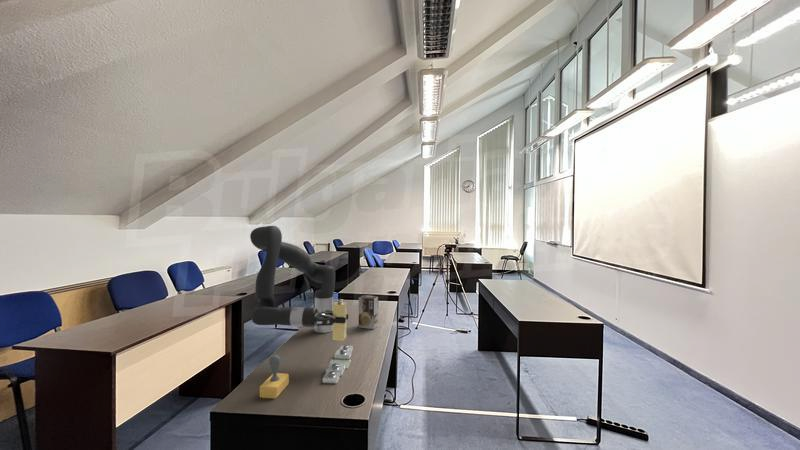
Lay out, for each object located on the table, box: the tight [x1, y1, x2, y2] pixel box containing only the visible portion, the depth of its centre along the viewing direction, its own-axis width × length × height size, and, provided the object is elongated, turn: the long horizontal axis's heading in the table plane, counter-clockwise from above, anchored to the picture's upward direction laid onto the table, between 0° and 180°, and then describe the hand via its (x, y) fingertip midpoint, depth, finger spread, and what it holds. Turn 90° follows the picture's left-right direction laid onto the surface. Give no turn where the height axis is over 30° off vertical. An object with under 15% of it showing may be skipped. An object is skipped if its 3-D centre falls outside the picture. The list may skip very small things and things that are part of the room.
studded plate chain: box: [322, 344, 354, 384], centre depth 137 cm, size 32×8×3 cm, turn 178°
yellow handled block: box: [259, 354, 290, 400], centre depth 116 cm, size 10×6×12 cm, turn 175°
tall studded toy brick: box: [332, 298, 348, 342], centre depth 137 cm, size 4×4×15 cm
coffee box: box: [358, 294, 379, 330], centre depth 185 cm, size 9×6×16 cm
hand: (346, 318), depth 137 cm, fingers closed on tall studded toy brick, 4 cm apart
